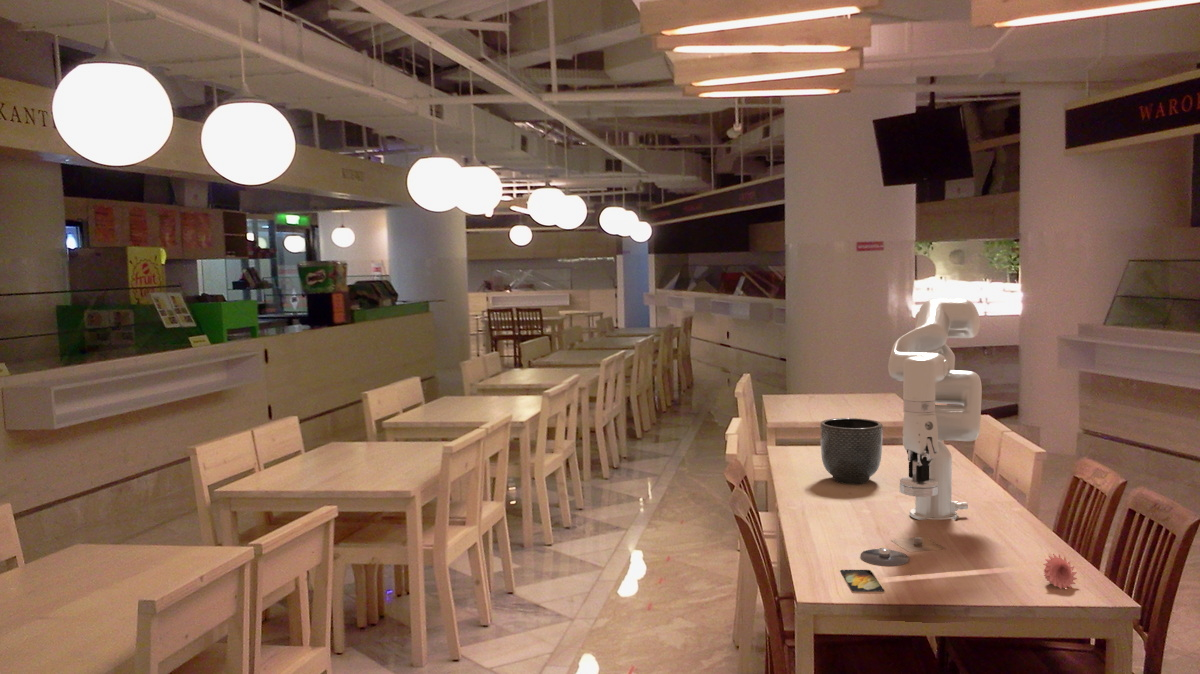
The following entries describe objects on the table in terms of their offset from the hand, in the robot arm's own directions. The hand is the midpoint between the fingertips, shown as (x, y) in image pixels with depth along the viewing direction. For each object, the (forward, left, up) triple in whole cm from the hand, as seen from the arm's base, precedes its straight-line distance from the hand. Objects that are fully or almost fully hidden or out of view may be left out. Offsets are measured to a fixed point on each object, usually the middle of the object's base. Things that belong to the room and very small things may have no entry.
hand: (918, 478), depth 235 cm
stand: (0, 0, -18) cm, 18 cm away
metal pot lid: (+13, +8, -18) cm, 24 cm away
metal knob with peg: (0, 0, -3) cm, 3 cm away
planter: (-14, -70, -18) cm, 73 cm away
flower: (-17, +31, -18) cm, 40 cm away
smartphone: (+24, +19, -18) cm, 36 cm away
